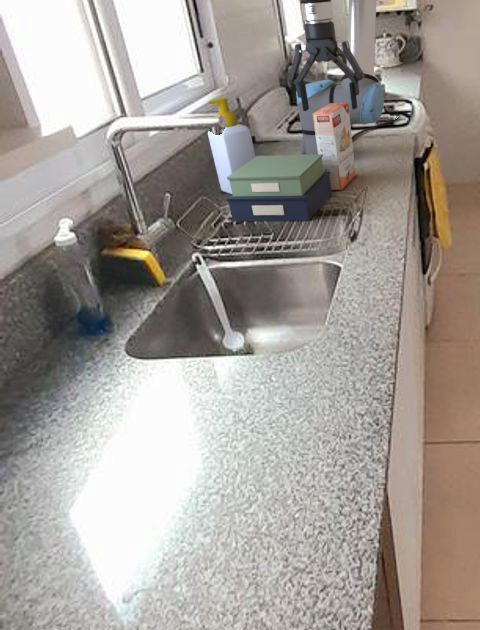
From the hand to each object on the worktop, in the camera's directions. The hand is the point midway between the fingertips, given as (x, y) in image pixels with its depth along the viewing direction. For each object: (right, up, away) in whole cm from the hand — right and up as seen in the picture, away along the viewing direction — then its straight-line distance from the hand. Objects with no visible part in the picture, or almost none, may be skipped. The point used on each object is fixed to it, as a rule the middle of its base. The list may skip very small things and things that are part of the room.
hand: (330, 109), depth 162 cm
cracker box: (+1, -18, +10) cm, 21 cm away
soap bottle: (-27, -20, +11) cm, 35 cm away
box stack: (-11, -27, -4) cm, 29 cm away
